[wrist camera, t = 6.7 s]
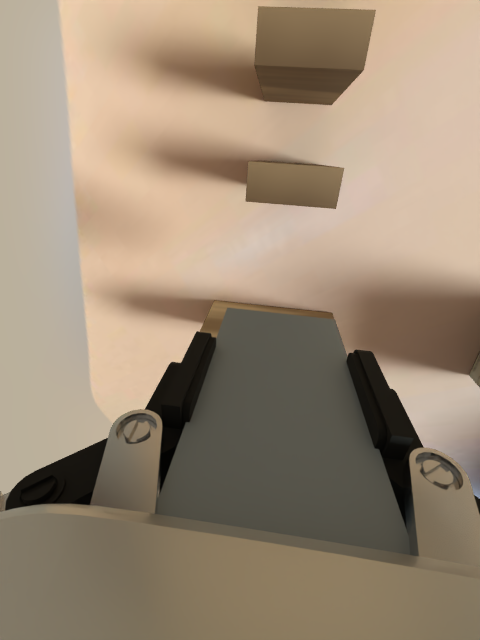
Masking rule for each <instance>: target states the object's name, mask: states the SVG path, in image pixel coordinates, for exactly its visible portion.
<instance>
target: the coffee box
mask: <svg viewBox="0 0 480 640" xmlns="http://www.w3.org/2000/svg"><path fill="white" fill-rule="evenodd" d="M470 377H471V378H472V379H473V380H474V381H475V383H476V384H477V385H478V386H479V387H480V353H479V355H478V357H477V359H476V362H475V364H474V366H473V368H472V370H471V372H470Z"/></svg>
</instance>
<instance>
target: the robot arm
mask: <svg viewBox="0 0 480 640" xmlns="http://www.w3.org/2000/svg"><path fill="white" fill-rule="evenodd" d="M215 348H216V337H212V335H211V333H206V332H196V334H195V336H194V338H193V340H192V342H191V344H190V346H189V348H188V350H187V352H186V354H185V356H184V358H183V360H182V362H181V363H176V362H171V363H170V364H169V366H168V368H167V370H166V372H165V373H164V375H163V377H162V379H161V381H160V383H159V384H158V386H157V388H156V390H155V392H154V394H153V395H152V397H151V399H150V401H149V403H148V405H147V406H146V408H145V410H143V409H139V410H133V411H130V412H128V413H125V414H124V415H122V416H121V417H119V418H118V419H117V420H116V421H115V422H114V423H113V425H112V427H111V430H110V433H109V437H108V438H106V439H104V440H102V441H100V442H98V443H96V444H93V445H91V446H89V447H87V448H85V449H83V450H80V451H78V452H76V453H74V454H72V455H69V456H67V457H65V458H63V459H61V460H58V461H56V462H54V463H52V464H50V465H47V466H46V467H43V468H41V469H39V470H37V471H35V472H33V473H31V474H29V475H28V476H26V477H25V478H23V479H22V480H21V481H20V482H19V483H17V485H16V486H15V487H14V488H13V489H12V491H11V492H9V493H7V494H4V495H3V494H2V493H1V491H0V640H480V499H479V498H478V497H476V496H475V495H474V494H473V490H472V487H471V483H470V480H469V478H468V476H467V474H466V472H465V471H464V470H463V468H462V467H461V466H460V465H459V464H458V463H457V462H456V461H454V460H453V459H452V458H450V457H449V456H447V455H446V454H444V453H442V452H439V451H437V450H435V449H430V448H424V447H423V445H422V443H421V441H420V439H419V437H418V435H417V433H416V431H415V429H414V427H413V425H412V423H411V421H410V419H409V417H408V415H407V413H406V411H405V409H404V407H403V405H402V403H401V401H400V399H399V397H398V395H397V393H396V392H395V390H393V389H390V388H389V386H388V384H387V382H386V380H385V377H384V375H383V373H382V371H381V369H380V367H379V365H378V363H377V361H376V359H375V357H374V354H373V353H372V352H371V351H363V350H355V351H354V353H349V355H348V357H347V361H346V362H347V366H348V369H349V372H350V375H351V378H352V381H353V384H354V387H355V390H356V393H357V396H358V399H359V402H360V405H361V408H362V412H363V415H364V418H365V421H366V424H367V427H368V430H369V433H370V436H371V439H372V442H373V445H374V448H375V449H379V451H380V454H381V456H382V459H383V462H384V465H385V468H386V471H387V474H388V477H389V480H390V483H391V486H392V489H393V492H394V495H395V498H396V500H397V503H398V506H399V509H400V512H401V515H402V518H403V521H404V524H405V527H406V530H407V533H408V536H409V547H410V555H407V554H401V553H395V552H389V551H383V550H377V549H371V548H365V547H359V546H353V545H347V544H341V543H335V542H328V541H322V540H316V539H310V538H304V537H298V536H292V535H285V534H279V533H273V532H267V531H261V530H254V529H248V528H242V527H236V526H229V525H223V524H217V523H210V522H204V521H197V520H191V519H185V518H178V517H172V516H166V515H159V514H157V511H158V498H159V495H160V492H161V489H162V487H163V484H164V481H165V478H166V476H167V473H168V470H169V467H170V465H171V462H172V459H173V456H174V454H175V451H176V448H177V445H178V442H179V440H180V437H181V434H182V431H183V429H184V426H185V423H186V422H190V420H191V417H192V414H193V412H194V409H195V406H196V403H197V400H198V397H199V394H200V391H201V388H202V385H203V383H204V380H205V377H206V374H207V371H208V368H209V365H210V362H211V359H212V357H213V354H214V351H215Z"/></svg>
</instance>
